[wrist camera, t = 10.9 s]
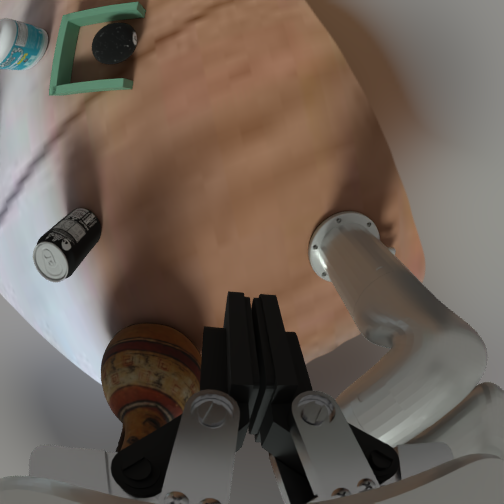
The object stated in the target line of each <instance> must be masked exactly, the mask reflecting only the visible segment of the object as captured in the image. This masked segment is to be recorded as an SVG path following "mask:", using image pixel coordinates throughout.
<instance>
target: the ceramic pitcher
mask: <svg viewBox="0 0 504 504" xmlns="http://www.w3.org/2000/svg"><path fill="white" fill-rule="evenodd" d="M201 359H202V357H201V355H200V353H199V352H198V350H197V349H196V347H195V346H194V345H193V344H192V342H191V341H190V340H189V339H188V338H187V337H185V336H184V335H183V334H182V333H180V332H179V331H177V330H175V329H174V328H171V327H168V326H164V325H160V324H148V323H144V324H136V325H131V326H129V327H127V328H124V329H122V330H121V331H119V332H118V333H117V334H116V335H115V336H114V337H113V339H112V340H111V341H110V343H109V345H108V346H107V348H106V350H105V353H104V355H103V359H102V364H101V381H102V386H103V391H104V395H105V397H106V400H107V402H108V404H109V406H110V408H111V410H112V411H113V413H114V414H115V415H116V417H117V418H118V419H119V420H120V421H121V422H122V423H123V429H122V433H121V437H120V440H119V443H118V447H117V449H116V452H119V451H121V450H122V449H124V448H126V447H128V446H129V445H131V444H133V443H135V442H136V441H138V440H140V439H142V438H143V437H145V436H147V435H148V434H150V433H152V432H153V431H155V430H157V429H158V428H160V427H162V426H163V425H165V424H167V423H168V422H170V421H171V420H173V419H175V418H176V417H178V416H179V415H181V414H182V413H183V410H184V407H185V404H186V402H187V400H188V398H190V397H191V396H192V395H193V394H194V393H196V392H199V391H200V375H201Z"/></svg>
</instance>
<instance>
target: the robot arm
mask: <svg viewBox="0 0 504 504" xmlns="http://www.w3.org/2000/svg"><path fill="white" fill-rule="evenodd" d="M337 218H338V219H337ZM314 245H315V246H314ZM395 252H396V251H395V248H392V247H386V246H385V245H384V244H383V243H382V242H381V241H380V236H379V232H378V229H377V227H376V225H375V224H374V223H373V221H371V220H370V219H369V218H368V217H367V216H365V215H364V214H361V213H359V212H354V211H345V212H340V213H337V214H335V215H332V216H330V217H329V218H327V219H326V220H325V221H323V222H322V223H321V224H320V225H319V226H318V228H317V229H316V230H315V232H314V233H313V235H312V238H311V240H310V243H309V249H308V256H309V261H310V264H311V266H312V268H313V270H314V271H315V272H316V274H317V275H318V276H320V277H321V278H322V279H324V280H327V281H330V282H332V283H333V285H334V287H335V288H336V290H337V292H338V294H339V295H340V297H341V299H342V301H343V302H344V304H345V306H346V308H347V309H348V311H349V313H350V315H351V317H352V318H353V320H354V322H355V324H356V325H357V327H358V329H359V331H360V332H361V334H362V335H363V336H364V337H365V338H366V339H367V340H369V341H370V342H372V343H374V344H376V345H379V346H382V347H386V348H391V349H390V350H389V351H388V352H387V354H385V355H384V356H383V357H382V358H381V359H380V361H379V362H378V363H377V364H375V365H374V366H373V367H372V368H371V369H370V370H368V371H367V372H366V373H365V374H364V375H362V376H361V377H360V378H359V379H358V380H356V382H354V383H353V384H352V385H350V386H349V387H348V388H347V389H345V390H344V391H343V392H342V393H341V394H340V395H339V396H338V397H337V398H336V400H334V399H333V398H332V397H331V396H329V395H328V394H325V393H323V392H319V391H313V390H312V386H311V383H310V379H309V376H308V372H307V369H306V365H305V362H304V358H303V355H302V351H301V348H300V344H299V341H298V337H297V335H296V333H295V332H285V329H284V325H283V321H282V317H281V313H280V309H279V305H278V301H277V297H276V295H265V294H260V295H259V298H254V299H253V303H252V308H251V304H250V298H249V297H244V293H240V292H229V291H228V295H227V303H226V311H225V319H224V327H223V328H215V327H204V332H203V345H202V359H201V375H200V391H199V392H196V393H194V394H193V395H192V396H191V397H190V398H188V400H187V402H186V404H185V407H184V410H183V413H182V414H181V415H179V416H178V417H176V418H175V419H173V420H171V421H170V422H168V423H167V424H165V425H163V426H162V427H160V428H158V429H157V430H155V431H153V432H152V433H150V434H148V435H147V436H145V437H143V438H142V439H140V440H138V441H136V442H135V443H133V444H131V445H129V446H128V447H126V448H124V449H122V450H121V451H119V452H106V451H105V450H98V449H82V448H71V447H62V446H54V445H40V446H38V447H36V448H35V449H34V450H33V451H32V453H31V456H30V463H29V476H9V477H4V478H1V479H0V504H229V497H230V490H231V482H232V475H233V467H234V459H235V452H237V451H238V450H239V449H240V448H241V447H242V444H243V441H244V438H245V435H246V432H247V429H248V428H249V434H255V442H261V446H262V448H264V449H265V450H266V451H268V452H269V459H270V462H271V465H272V468H273V471H274V474H275V477H276V480H277V483H278V487H279V489H280V492H281V495H282V498H283V501H284V504H504V391H503V390H502V389H501V388H500V387H499V386H498V385H496V384H494V383H491V382H484V383H481V384H478V382H479V381H480V379H481V377H482V376H483V374H484V371H485V369H486V365H487V349H486V346H485V344H484V342H483V340H482V338H481V337H480V336H479V334H478V333H477V332H476V331H475V330H474V329H473V328H472V327H471V326H470V325H469V324H468V323H467V322H465V321H464V320H463V319H462V318H460V317H459V316H458V315H456V314H455V313H454V312H453V311H451V310H450V309H449V308H448V307H446V306H445V305H444V304H443V303H441V301H439V300H438V299H437V298H436V297H435V296H434V295H433V294H432V293H431V292H430V291H429V290H428V289H427V288H426V287H425V286H424V285H423V284H422V283H421V282H420V281H419V280H418V279H417V278H416V277H415V276H414V275H413V274H412V273H411V272H410V271H409V270H408V269H407V267H406V266H405V265H404V264H403V263H402V262H401V261H400V260H399V259H398V258H397V257H396V256H395ZM477 384H478V385H477ZM476 385H477V386H476Z"/></svg>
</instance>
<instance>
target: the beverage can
mask: <svg viewBox="0 0 504 504" xmlns="http://www.w3.org/2000/svg"><path fill="white" fill-rule="evenodd" d="M100 236H101V226H100V222H99V220H98V218H97V217H96V216H95V215H94V214H93V213H92V212H91V211H89V210H87V209H84V208H78V209H75V210H73V211H72V212H71V213H69V214H68V215H67V216H66V217H64V218H63V219H62V220H61V221H59V222H58V223H57V224H56V225H55V226H53V227H52V228H51V229H50V230H49V231H48V232H46V233H45V234H44V235H43V236H42V237H41V238H40V239H39V240H38V242H37V245H36V247H35V249H34V252H33V261H34V264H35V267H36V268H37V270H38V272H39V273H40V274H41V275H42V276H43V277H44V278H45V279H47V280H49V281H51V282H61V281H62V280H64V279H66V278H68V277H70V276H71V275H72V274H73V272H74V271H75V270H76V268H77V267H78V266H79V265H80V263H81V262H82V261H83V259H84V258H85V257H86V256H87V254H88V253H89V252H90V251H91V249H92V248H93V247H94V246H95V244H96V243H97V242H98V241H99V239H100Z"/></svg>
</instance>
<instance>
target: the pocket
mask: <svg viewBox="0 0 504 504" xmlns="http://www.w3.org/2000/svg"><path fill="white" fill-rule="evenodd" d="M145 12H146V10H145V9H144V8H143V7H142V6H141V4H140V3H139V2H131V3H123V4H116V5H109V6H103V7H98V8H93V9H88V10H83V11H79V12H74V13H70V14H66V15H63V17H62V21H61V25H60V29H59V33H58V38H57V43H56V48H55V53H54V59H53V66H52V72H51V80H50V89H49V95H69V94H77V93H86V92H96V91H108V90H125V89H132V86H133V81H131V80H128V79H125V78H118V79H105V80H95V81H86V82H78V83H71V84H70V81H71V73H72V66H73V60H74V54H75V48H76V43H77V38H78V33H79V29H80V26H85V25H91V24H96V23H102V22H109V21H116V20H125V19H134V18H144V16H145Z"/></svg>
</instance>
